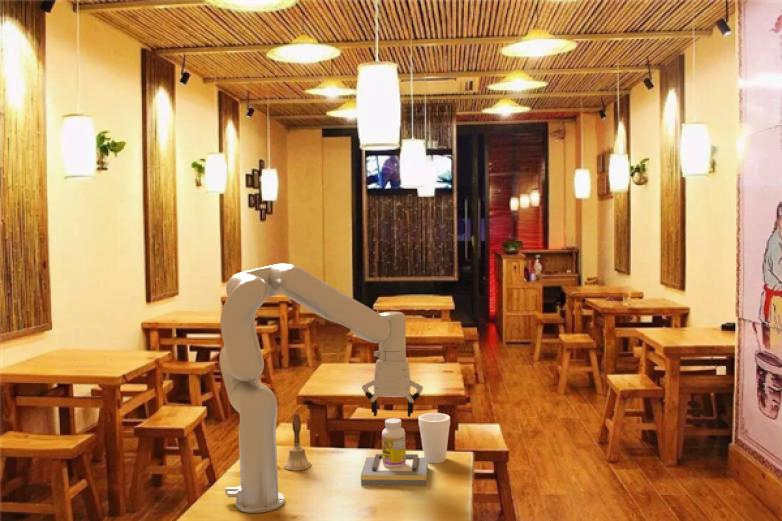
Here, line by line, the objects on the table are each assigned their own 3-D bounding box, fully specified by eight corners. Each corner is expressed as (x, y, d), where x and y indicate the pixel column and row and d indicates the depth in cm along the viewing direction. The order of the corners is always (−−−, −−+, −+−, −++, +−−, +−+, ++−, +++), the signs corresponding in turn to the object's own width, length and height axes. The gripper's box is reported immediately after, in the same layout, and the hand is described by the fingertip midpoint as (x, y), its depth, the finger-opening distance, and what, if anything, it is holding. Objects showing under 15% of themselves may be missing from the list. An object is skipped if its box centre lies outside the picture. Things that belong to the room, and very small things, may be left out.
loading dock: (361, 485, 200) (360, 474, 200) (366, 467, 214) (366, 457, 214) (426, 486, 198) (426, 474, 198) (427, 467, 213) (427, 457, 212)
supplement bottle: (379, 462, 209) (377, 419, 208) (400, 459, 211) (399, 415, 210) (388, 470, 203) (386, 425, 202) (409, 466, 205) (408, 421, 204)
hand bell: (296, 459, 222) (295, 408, 221) (317, 464, 218) (315, 412, 217) (277, 467, 216) (275, 415, 215) (298, 473, 211) (296, 419, 210)
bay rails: (372, 470, 203) (371, 467, 203) (375, 457, 213) (375, 454, 213) (416, 471, 202) (416, 467, 202) (418, 457, 212) (417, 454, 212)
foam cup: (451, 454, 223) (450, 413, 223) (450, 464, 214) (449, 421, 213) (420, 454, 224) (419, 412, 224) (418, 464, 215) (417, 421, 214)
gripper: (360, 357, 202) (360, 418, 203) (422, 358, 200) (422, 419, 201) (363, 352, 209) (363, 411, 210) (423, 353, 208) (423, 412, 209)
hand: (392, 415), depth 206 cm, fingers open, 9 cm apart
